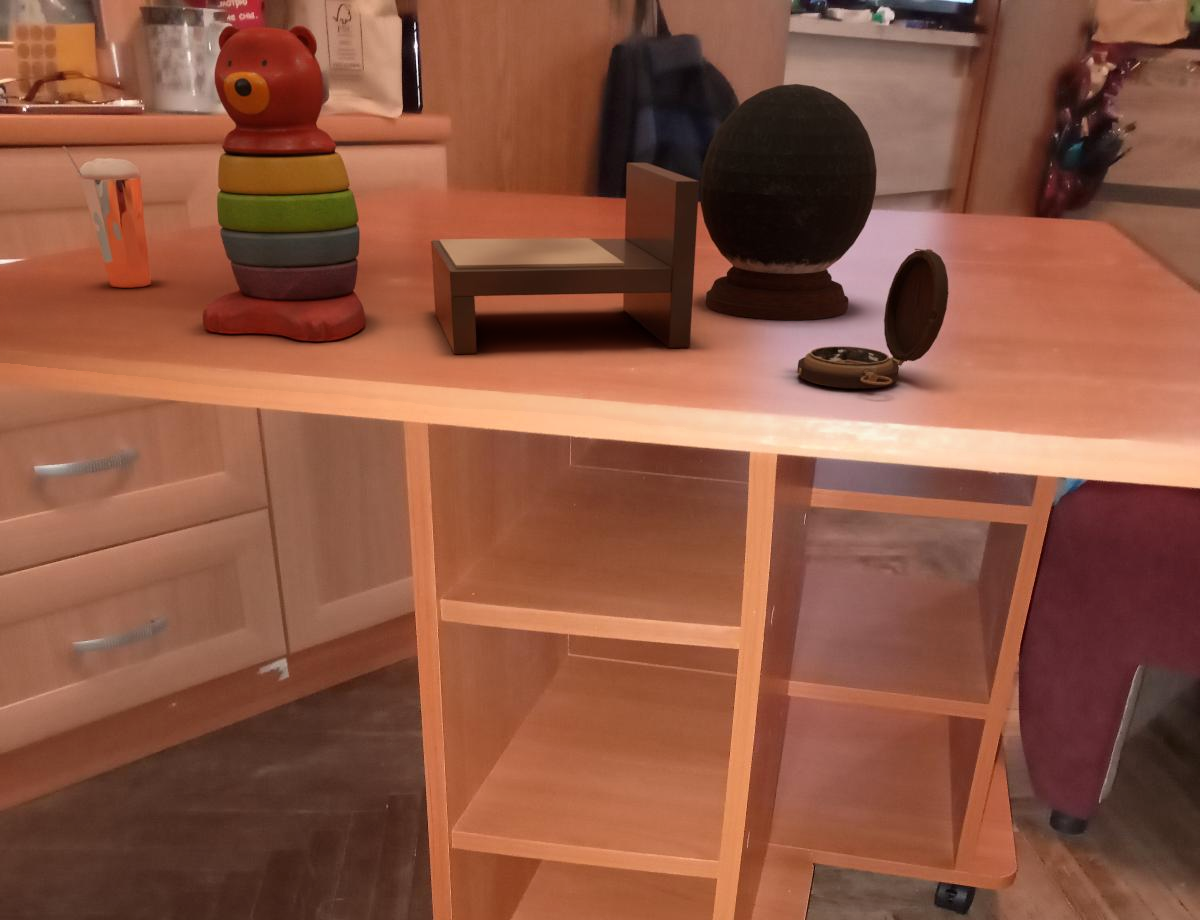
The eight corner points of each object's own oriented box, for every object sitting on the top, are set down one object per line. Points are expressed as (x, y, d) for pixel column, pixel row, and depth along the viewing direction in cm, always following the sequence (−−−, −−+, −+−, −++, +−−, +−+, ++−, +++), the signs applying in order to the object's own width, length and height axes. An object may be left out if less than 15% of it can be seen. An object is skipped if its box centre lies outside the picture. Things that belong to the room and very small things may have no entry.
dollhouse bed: (453, 354, 75) (445, 181, 69) (435, 313, 86) (426, 162, 81) (690, 347, 78) (699, 180, 72) (641, 309, 89) (646, 162, 84)
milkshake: (83, 284, 94) (53, 144, 89) (147, 278, 97) (122, 142, 92) (103, 292, 91) (74, 148, 86) (168, 285, 94) (144, 146, 89)
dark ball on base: (875, 323, 86) (908, 88, 78) (699, 321, 86) (714, 84, 77) (843, 292, 97) (868, 83, 89) (687, 290, 97) (698, 80, 88)
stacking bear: (191, 332, 79) (140, 21, 70) (268, 307, 87) (232, 25, 78) (332, 344, 77) (298, 23, 67) (398, 317, 85) (377, 27, 75)
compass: (780, 370, 73) (792, 243, 69) (895, 365, 74) (913, 241, 70) (830, 401, 66) (847, 263, 62) (954, 396, 68) (979, 261, 64)
